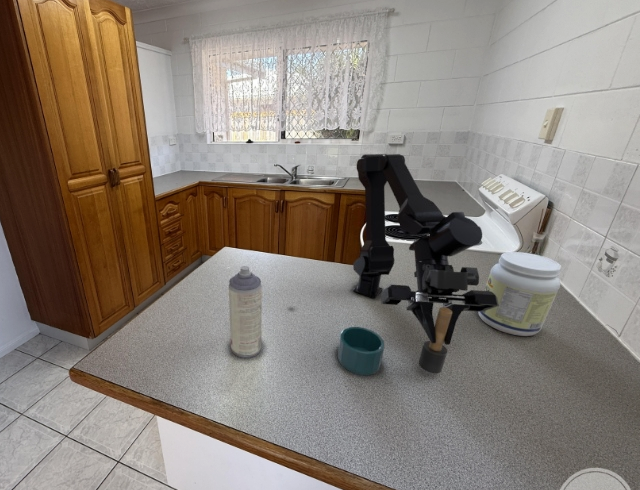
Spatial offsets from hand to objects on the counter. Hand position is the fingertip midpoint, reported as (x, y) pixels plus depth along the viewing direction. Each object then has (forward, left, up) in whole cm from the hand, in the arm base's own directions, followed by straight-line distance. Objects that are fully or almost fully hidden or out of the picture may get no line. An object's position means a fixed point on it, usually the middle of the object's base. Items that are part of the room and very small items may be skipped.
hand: (440, 343), depth 57 cm
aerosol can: (+16, -34, -9) cm, 38 cm away
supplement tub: (-32, +10, -9) cm, 35 cm away
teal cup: (+4, -13, -9) cm, 16 cm away
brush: (-1, -1, -7) cm, 7 cm away
